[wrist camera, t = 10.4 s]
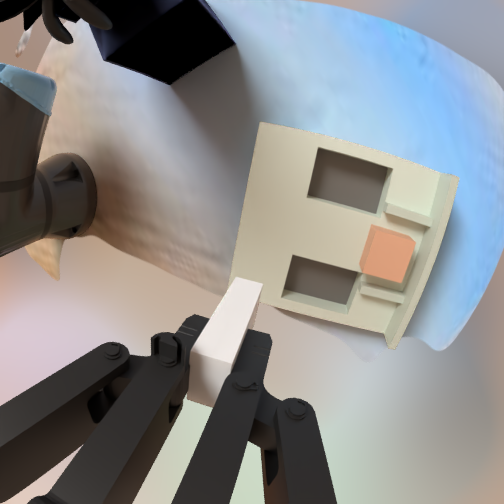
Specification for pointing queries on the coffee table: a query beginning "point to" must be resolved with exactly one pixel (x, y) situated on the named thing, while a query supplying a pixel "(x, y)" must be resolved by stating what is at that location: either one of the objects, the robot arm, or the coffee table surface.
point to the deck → (337, 227)
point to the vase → (135, 31)
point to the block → (386, 253)
